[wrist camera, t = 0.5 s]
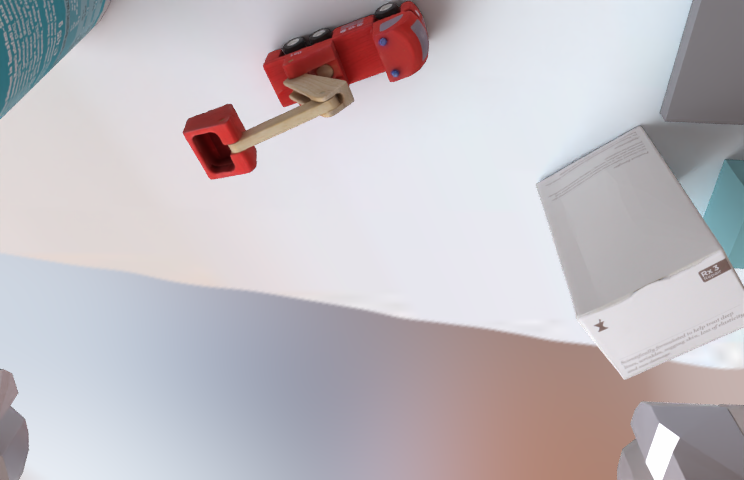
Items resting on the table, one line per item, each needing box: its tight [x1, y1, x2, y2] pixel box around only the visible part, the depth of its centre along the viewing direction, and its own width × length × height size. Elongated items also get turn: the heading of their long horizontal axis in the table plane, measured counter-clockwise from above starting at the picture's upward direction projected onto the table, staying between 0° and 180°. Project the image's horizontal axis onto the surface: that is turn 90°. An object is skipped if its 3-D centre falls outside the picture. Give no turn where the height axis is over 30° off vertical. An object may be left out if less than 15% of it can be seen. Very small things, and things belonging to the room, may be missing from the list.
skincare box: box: [536, 126, 744, 379], centre depth 44 cm, size 8×6×15 cm
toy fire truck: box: [183, 1, 429, 179], centre depth 41 cm, size 3×14×10 cm, turn 111°
